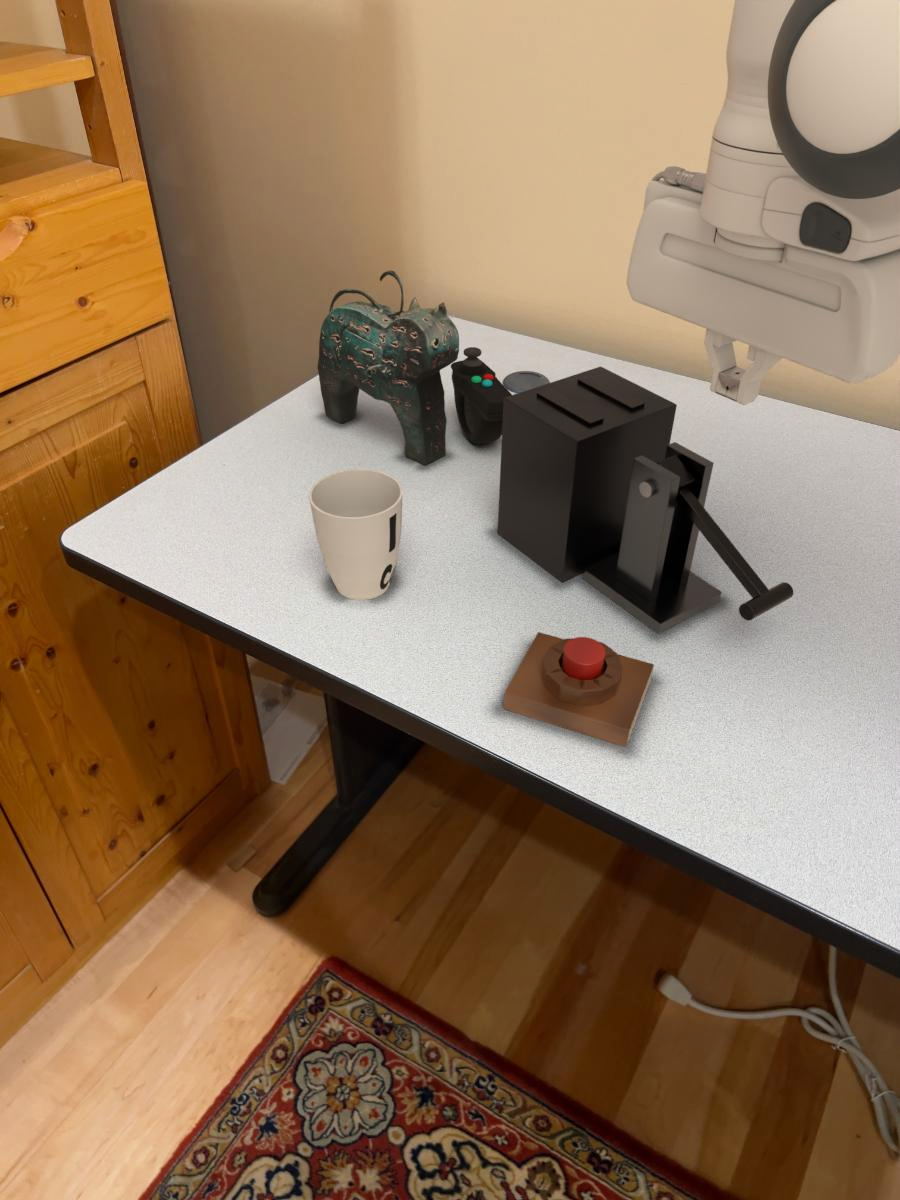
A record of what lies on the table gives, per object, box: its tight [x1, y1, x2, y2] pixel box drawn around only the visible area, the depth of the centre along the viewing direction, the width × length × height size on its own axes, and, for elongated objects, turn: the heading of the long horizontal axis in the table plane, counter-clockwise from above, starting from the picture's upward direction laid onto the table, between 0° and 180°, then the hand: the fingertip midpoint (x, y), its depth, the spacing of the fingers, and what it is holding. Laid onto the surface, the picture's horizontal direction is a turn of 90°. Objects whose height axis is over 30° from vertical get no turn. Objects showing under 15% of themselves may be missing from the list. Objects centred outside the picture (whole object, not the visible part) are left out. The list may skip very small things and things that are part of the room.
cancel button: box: [562, 636, 605, 680], centre depth 69 cm, size 3×3×2 cm
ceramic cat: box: [317, 269, 460, 466], centre depth 99 cm, size 20×6×20 cm, turn 47°
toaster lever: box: [657, 455, 794, 622], centre depth 73 cm, size 15×5×2 cm, turn 35°
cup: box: [308, 468, 403, 601], centre depth 80 cm, size 8×8×10 cm
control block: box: [503, 631, 655, 748], centre depth 71 cm, size 10×8×4 cm
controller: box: [450, 346, 513, 445], centre depth 101 cm, size 4×12×10 cm, turn 21°
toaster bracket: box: [581, 441, 722, 635], centre depth 78 cm, size 10×8×14 cm
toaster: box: [496, 366, 678, 584], centre depth 84 cm, size 10×12×15 cm
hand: (732, 396), depth 64 cm, fingers closed
